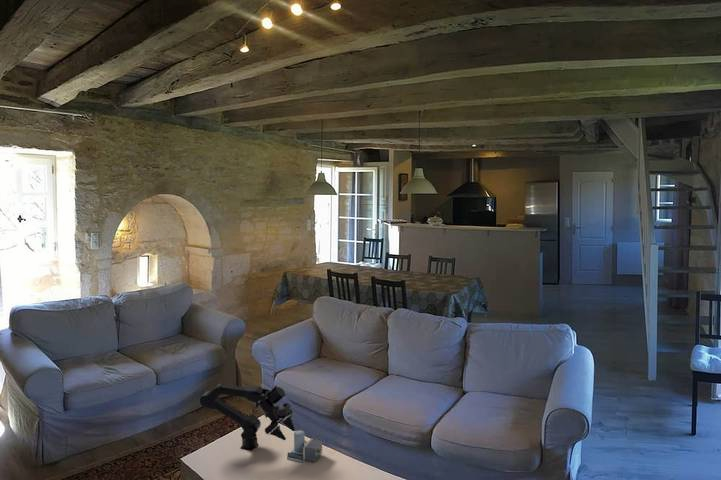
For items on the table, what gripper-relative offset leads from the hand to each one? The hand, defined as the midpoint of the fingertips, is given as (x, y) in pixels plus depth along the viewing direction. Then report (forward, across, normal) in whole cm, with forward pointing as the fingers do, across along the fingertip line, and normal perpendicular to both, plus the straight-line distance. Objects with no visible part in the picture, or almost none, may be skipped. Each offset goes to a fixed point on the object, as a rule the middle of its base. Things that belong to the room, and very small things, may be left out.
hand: (289, 435), depth 235 cm
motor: (+13, 0, 0) cm, 13 cm away
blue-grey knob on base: (+9, 0, +2) cm, 9 cm away
